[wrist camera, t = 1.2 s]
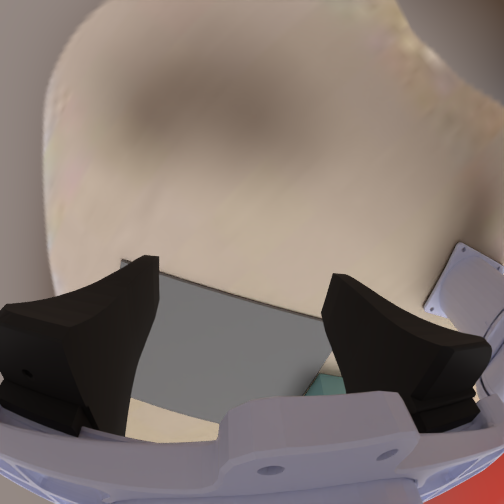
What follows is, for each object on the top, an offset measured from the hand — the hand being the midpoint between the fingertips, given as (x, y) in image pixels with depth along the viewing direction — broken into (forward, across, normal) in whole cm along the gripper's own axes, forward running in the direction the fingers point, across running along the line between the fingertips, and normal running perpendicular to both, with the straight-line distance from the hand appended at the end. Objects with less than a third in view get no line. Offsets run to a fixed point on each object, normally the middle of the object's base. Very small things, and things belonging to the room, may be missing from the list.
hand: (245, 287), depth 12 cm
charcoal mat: (+12, +1, +18) cm, 22 cm away
